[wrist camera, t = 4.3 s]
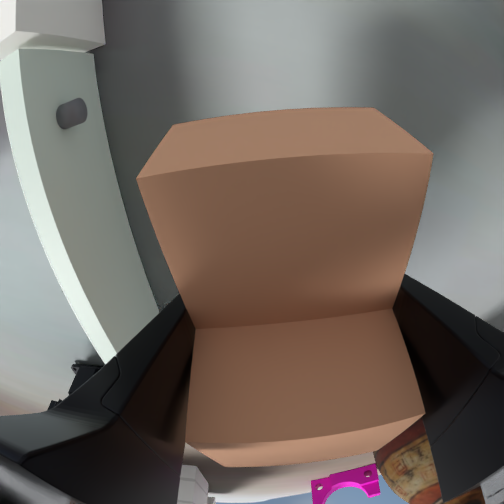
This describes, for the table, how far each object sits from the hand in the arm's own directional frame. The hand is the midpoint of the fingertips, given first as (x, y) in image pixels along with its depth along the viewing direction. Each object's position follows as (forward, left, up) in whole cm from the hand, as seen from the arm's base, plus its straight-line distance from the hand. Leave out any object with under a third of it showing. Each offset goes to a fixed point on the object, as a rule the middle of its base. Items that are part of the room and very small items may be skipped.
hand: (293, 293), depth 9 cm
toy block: (-65, -12, -12) cm, 68 cm away
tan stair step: (0, 0, -2) cm, 2 cm away
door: (-13, +11, -11) cm, 21 cm away
